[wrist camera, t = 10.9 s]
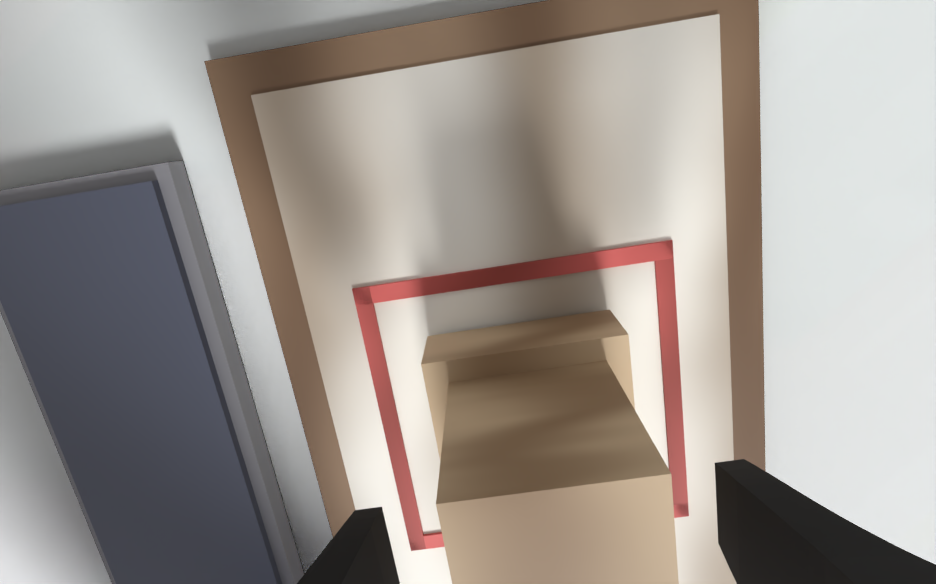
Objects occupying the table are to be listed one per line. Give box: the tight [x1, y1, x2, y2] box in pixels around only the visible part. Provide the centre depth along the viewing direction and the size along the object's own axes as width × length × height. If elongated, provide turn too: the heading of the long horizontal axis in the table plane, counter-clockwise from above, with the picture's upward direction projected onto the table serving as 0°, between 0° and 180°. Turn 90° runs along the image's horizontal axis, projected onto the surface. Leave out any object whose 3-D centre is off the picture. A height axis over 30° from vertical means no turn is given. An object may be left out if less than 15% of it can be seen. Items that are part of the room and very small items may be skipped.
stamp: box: [421, 309, 679, 584], centre depth 13 cm, size 5×5×7 cm
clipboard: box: [205, 0, 765, 584], centre depth 17 cm, size 14×22×1 cm, turn 9°
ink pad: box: [0, 161, 304, 584], centre depth 17 cm, size 6×17×1 cm, turn 9°
